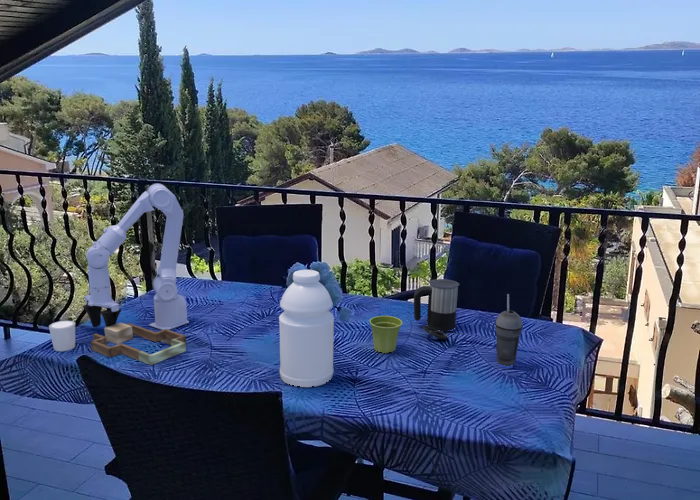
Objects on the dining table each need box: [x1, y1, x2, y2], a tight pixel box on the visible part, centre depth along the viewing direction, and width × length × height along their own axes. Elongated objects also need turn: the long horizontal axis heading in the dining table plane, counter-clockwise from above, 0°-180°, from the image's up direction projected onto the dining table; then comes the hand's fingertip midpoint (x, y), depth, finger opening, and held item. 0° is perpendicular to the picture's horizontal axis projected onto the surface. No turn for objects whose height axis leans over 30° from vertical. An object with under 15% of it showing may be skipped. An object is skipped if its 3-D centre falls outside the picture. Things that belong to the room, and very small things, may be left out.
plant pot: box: [369, 315, 403, 354], centre depth 179 cm, size 9×9×9 cm
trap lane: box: [89, 322, 187, 366], centre depth 179 cm, size 19×26×2 cm
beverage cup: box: [494, 293, 524, 366], centre depth 168 cm, size 7×7×20 cm
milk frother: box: [413, 278, 460, 340], centre depth 192 cm, size 14×16×15 cm
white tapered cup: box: [48, 320, 76, 352], centre depth 178 cm, size 7×7×7 cm
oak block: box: [103, 322, 134, 345], centre depth 184 cm, size 6×6×4 cm
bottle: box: [278, 269, 335, 388], centre depth 159 cm, size 14×14×28 cm
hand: (103, 329), depth 189 cm, fingers open, 7 cm apart
